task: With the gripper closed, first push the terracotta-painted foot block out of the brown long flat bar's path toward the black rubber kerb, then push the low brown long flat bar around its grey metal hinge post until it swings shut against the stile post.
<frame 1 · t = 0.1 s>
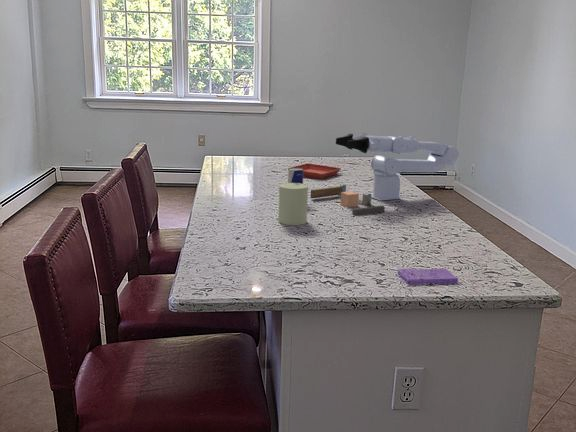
hand: (342, 142, 213), 22 cm above the worktop, tool horizontal, fingers open, 7 cm apart
foot block: (349, 205, 215), on the worktop
energy drink: (294, 202, 217), on the worktop
brown long flat bar: (325, 192, 224), point 2 cm above the worktop, hinge at -82.0°
can: (292, 221, 192), on the worktop
plant saucer: (314, 175, 270), on the worktop
gate frame: (342, 195, 230), on the worktop
sponges: (426, 281, 145), on the worktop
kerb: (368, 212, 205), on the worktop
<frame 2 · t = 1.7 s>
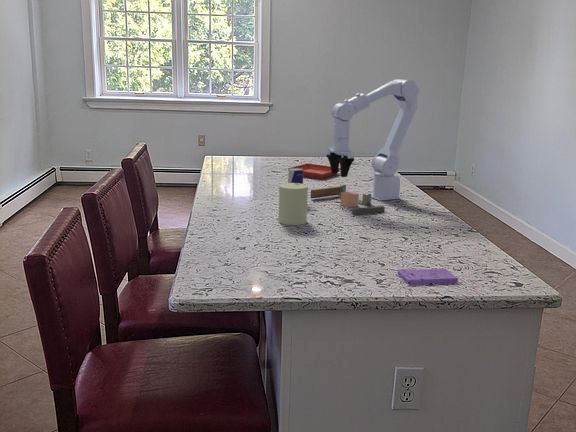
hand: (339, 175, 219), 9 cm above the worktop, tool pointing down, fingers open, 6 cm apart
nothing on the worktop moved.
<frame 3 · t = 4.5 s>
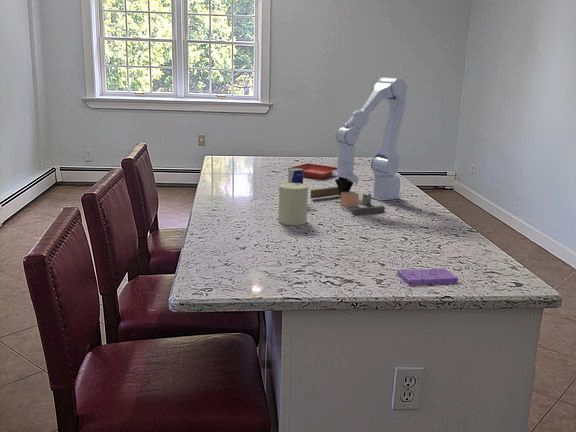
hand: (343, 198, 218), 1 cm above the worktop, tool pointing down, fingers closed
foot block: (349, 205, 215), on the worktop, touching gripper
everything else where it was.
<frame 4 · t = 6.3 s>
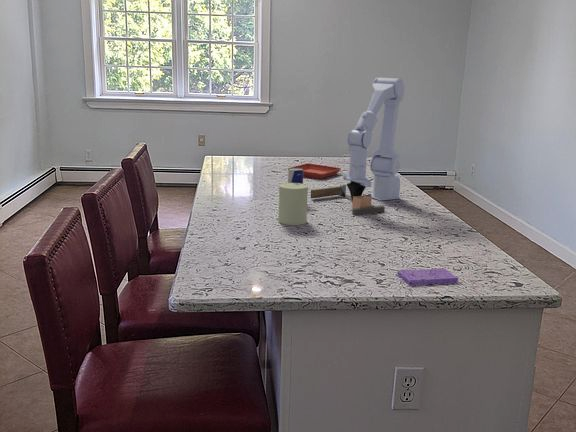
hand: (355, 203, 211), 1 cm above the worktop, tool pointing down, fingers closed
foot block: (361, 210, 208), on the worktop, touching gripper
everything else where it was.
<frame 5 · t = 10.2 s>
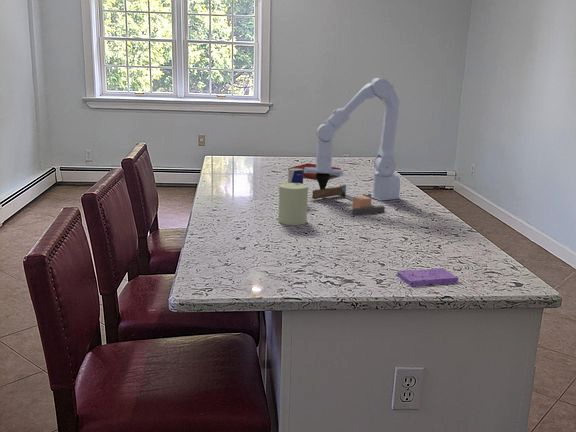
hand: (322, 193, 226), 1 cm above the worktop, tool pointing down, fingers closed
foot block: (361, 210, 208), on the worktop
brown long flat bar: (326, 192, 224), point 2 cm above the worktop, hinge at -77.8°, touching gripper
everything else where it was.
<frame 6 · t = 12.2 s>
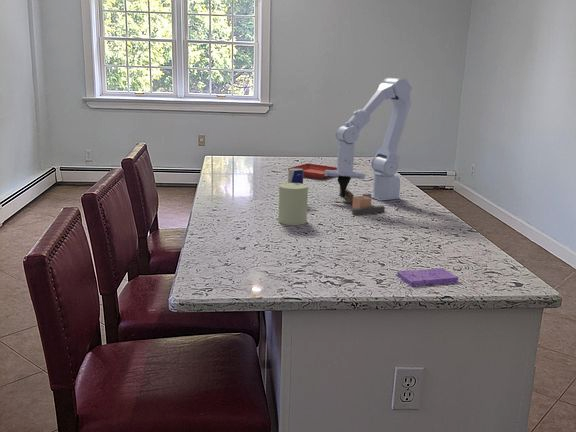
hand: (343, 196, 220), 2 cm above the worktop, tool pointing down, fingers closed, pressing on brown long flat bar
brown long flat bar: (347, 194, 221), point 2 cm above the worktop, hinge at -19.6°, touching gripper
everything else where it was.
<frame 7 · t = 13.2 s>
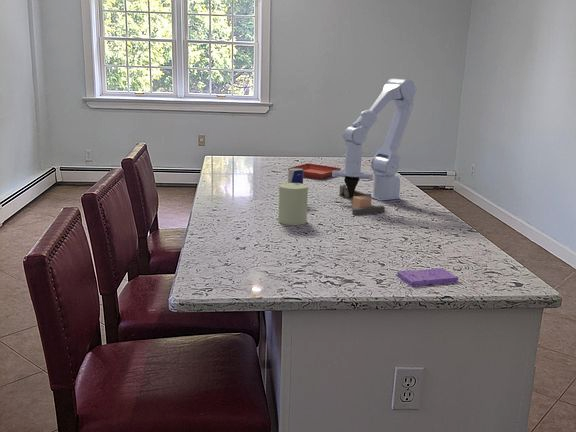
hand: (351, 197, 220), 1 cm above the worktop, tool pointing down, fingers closed
brown long flat bar: (354, 194, 222), point 2 cm above the worktop, hinge at -0.4°, touching gripper
everything else where it was.
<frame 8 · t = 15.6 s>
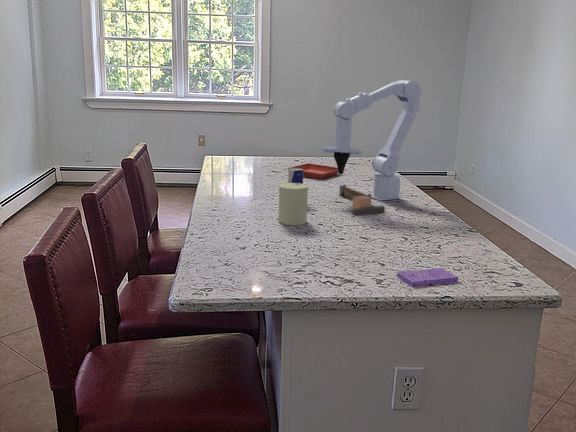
hand: (341, 173, 220), 10 cm above the worktop, tool pointing down, fingers closed
brown long flat bar: (354, 194, 222), point 2 cm above the worktop, hinge at -0.4°
everything else where it was.
at the end: brown long flat bar at +0° (first picture: -82°); foot block inside the target area (0.6 cm from its centre), on the worktop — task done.
